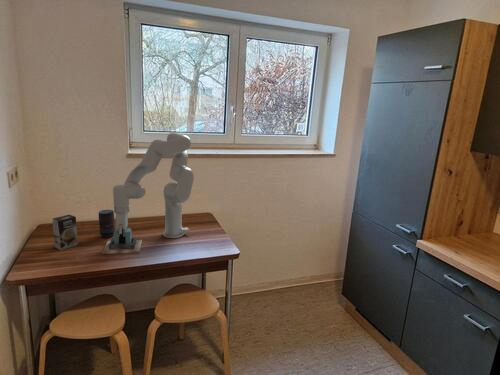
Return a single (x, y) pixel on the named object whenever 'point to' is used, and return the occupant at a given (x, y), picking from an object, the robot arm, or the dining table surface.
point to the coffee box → (65, 232)
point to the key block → (127, 236)
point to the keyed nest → (122, 247)
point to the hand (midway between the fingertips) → (123, 240)
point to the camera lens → (106, 223)
